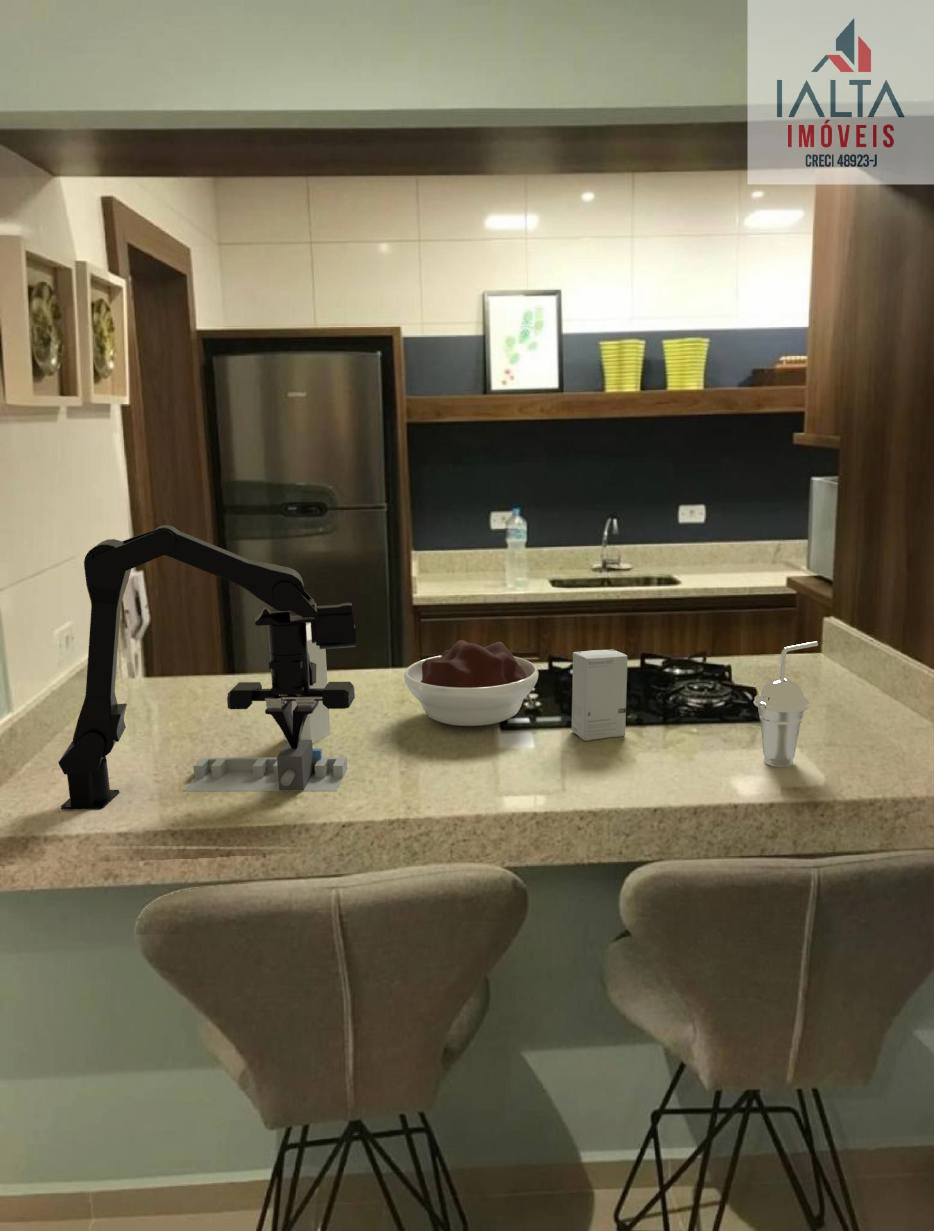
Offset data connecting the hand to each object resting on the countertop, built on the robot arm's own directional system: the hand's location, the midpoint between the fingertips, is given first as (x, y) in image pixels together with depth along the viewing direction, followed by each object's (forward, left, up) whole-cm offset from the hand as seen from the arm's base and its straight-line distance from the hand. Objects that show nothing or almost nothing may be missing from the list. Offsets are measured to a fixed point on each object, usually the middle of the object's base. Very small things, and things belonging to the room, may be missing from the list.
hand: (295, 747), depth 148 cm
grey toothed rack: (+1, +5, -6) cm, 8 cm away
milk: (+21, +3, -6) cm, 22 cm away
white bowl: (+32, -26, -6) cm, 41 cm away
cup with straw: (+9, -77, -6) cm, 78 cm away
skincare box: (+23, -49, -6) cm, 54 cm away
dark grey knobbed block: (-1, 0, -5) cm, 6 cm away
